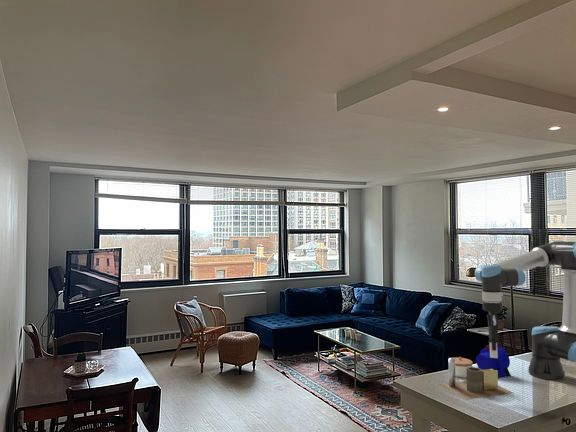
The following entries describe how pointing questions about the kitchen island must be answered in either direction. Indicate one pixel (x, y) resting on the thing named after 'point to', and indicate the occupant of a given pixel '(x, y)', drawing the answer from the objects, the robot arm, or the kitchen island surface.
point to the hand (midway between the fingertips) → (493, 357)
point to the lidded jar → (462, 366)
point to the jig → (474, 386)
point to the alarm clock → (494, 361)
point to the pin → (452, 372)
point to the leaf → (490, 380)
